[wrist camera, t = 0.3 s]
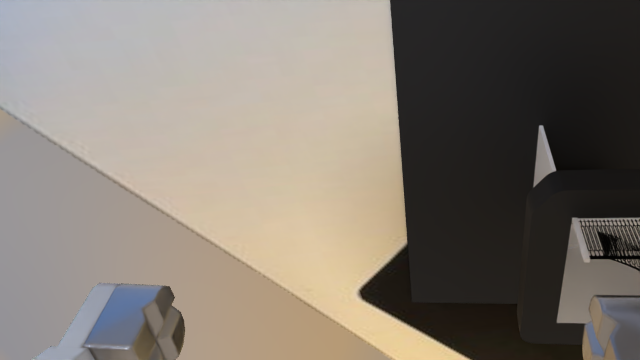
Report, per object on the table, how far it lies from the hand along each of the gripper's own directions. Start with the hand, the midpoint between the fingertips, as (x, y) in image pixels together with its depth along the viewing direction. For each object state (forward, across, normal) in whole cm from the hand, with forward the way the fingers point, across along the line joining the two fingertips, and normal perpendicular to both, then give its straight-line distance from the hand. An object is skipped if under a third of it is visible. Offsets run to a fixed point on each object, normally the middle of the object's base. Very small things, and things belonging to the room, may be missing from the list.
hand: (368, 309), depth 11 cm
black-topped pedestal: (+28, -12, +18) cm, 36 cm away
